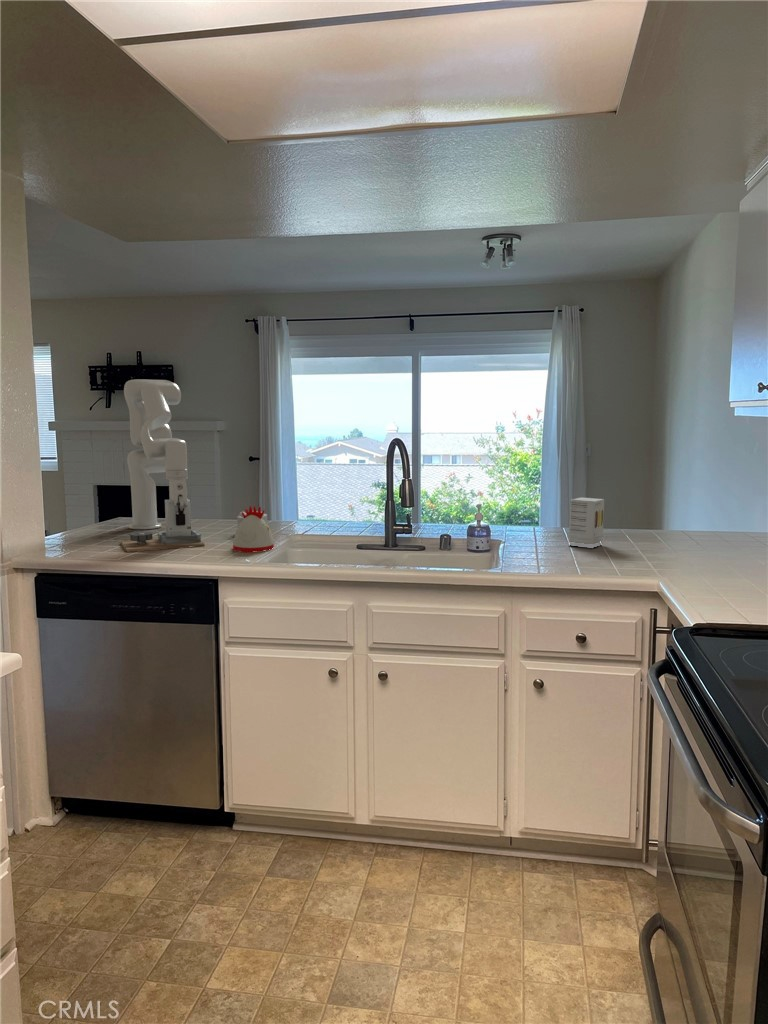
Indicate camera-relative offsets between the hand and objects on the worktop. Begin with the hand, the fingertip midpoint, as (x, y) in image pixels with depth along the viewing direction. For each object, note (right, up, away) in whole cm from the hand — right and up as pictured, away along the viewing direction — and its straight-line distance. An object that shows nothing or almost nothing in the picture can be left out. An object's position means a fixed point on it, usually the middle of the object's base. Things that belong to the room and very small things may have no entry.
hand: (178, 523), depth 257 cm
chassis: (-5, -8, -2) cm, 9 cm away
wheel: (-12, -6, -5) cm, 14 cm away
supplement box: (+145, -8, -2) cm, 146 cm away
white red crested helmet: (+28, -9, -8) cm, 31 cm away
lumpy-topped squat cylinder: (+22, -5, +21) cm, 31 cm away
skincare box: (0, -6, +1) cm, 6 cm away
